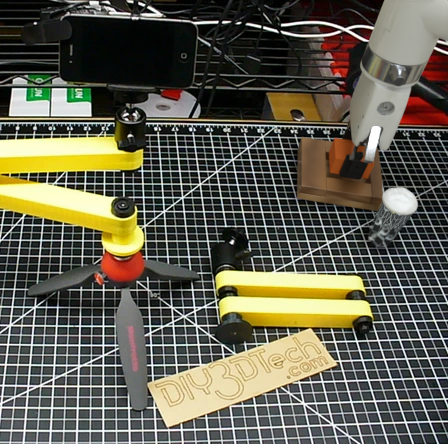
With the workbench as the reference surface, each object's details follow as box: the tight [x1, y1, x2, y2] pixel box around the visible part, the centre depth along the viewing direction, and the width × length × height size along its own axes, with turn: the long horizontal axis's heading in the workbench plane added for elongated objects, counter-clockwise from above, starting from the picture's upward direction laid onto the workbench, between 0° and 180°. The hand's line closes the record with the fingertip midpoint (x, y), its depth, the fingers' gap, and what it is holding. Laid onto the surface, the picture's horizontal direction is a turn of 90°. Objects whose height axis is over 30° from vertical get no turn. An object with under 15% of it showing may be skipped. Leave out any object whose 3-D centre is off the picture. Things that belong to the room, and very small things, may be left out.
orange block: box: [329, 137, 374, 179], centre depth 86 cm, size 6×5×3 cm
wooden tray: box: [296, 136, 383, 212], centre depth 89 cm, size 12×11×3 cm
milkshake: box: [367, 180, 419, 248], centre depth 79 cm, size 4×5×10 cm
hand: (349, 163), depth 87 cm, fingers closed on orange block, 4 cm apart
